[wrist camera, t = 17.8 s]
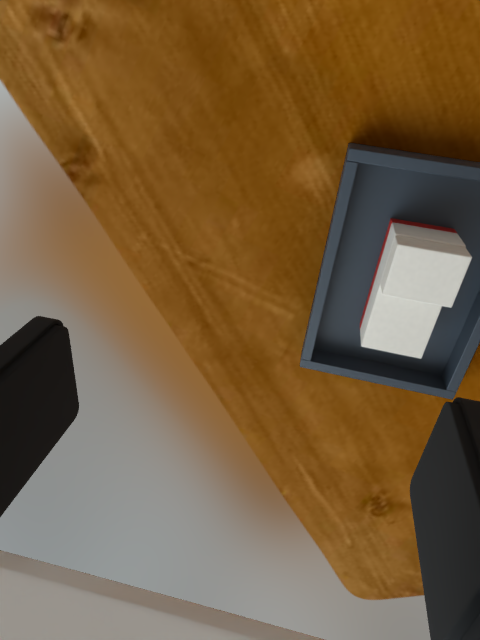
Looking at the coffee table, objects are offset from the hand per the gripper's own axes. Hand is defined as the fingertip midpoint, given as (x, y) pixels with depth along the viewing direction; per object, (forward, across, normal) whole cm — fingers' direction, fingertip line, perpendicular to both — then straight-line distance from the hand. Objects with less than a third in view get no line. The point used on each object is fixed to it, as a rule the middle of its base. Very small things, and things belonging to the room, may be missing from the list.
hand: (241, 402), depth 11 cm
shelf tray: (+25, -8, +6) cm, 27 cm away
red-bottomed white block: (+24, -8, +6) cm, 27 cm away
